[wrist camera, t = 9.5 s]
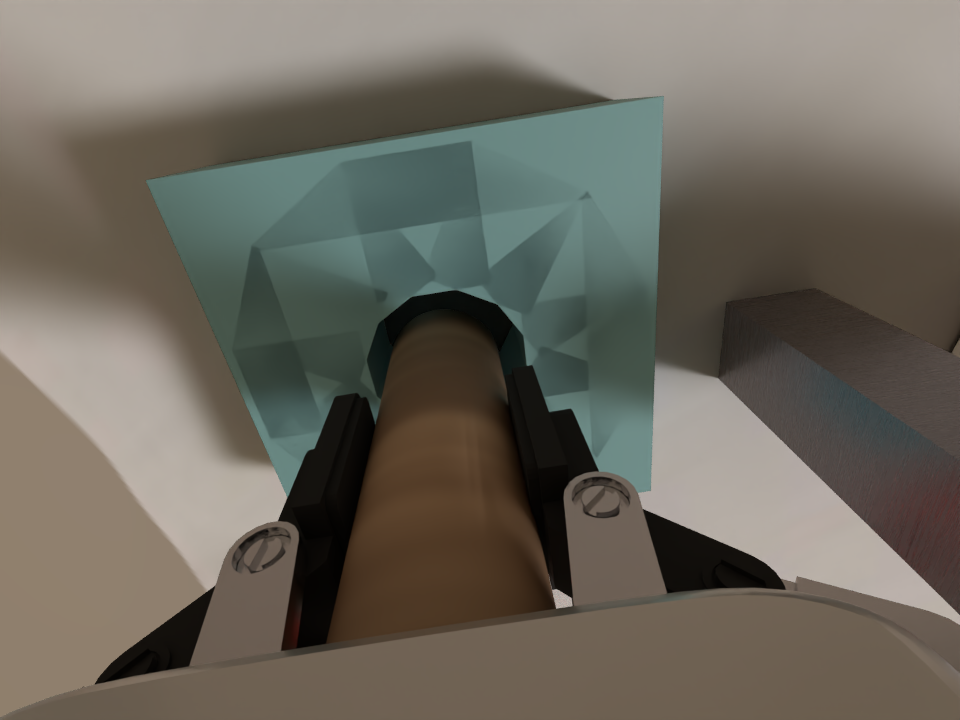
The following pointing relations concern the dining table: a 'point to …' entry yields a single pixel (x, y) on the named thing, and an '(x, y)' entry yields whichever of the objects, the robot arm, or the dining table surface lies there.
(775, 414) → the steel square bar
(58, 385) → the dining table surface
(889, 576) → the dining table surface
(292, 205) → the bore block
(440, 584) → the walnut dowel
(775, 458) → the dining table surface
